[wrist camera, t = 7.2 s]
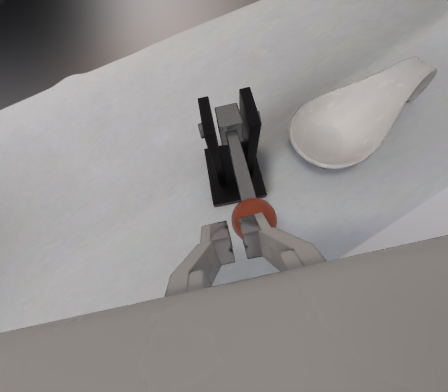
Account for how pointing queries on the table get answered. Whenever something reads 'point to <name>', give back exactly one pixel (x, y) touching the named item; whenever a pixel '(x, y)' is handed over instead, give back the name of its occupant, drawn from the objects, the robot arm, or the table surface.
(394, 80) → the spoon rest
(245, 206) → the power lever
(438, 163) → the table surface
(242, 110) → the switch bracket
